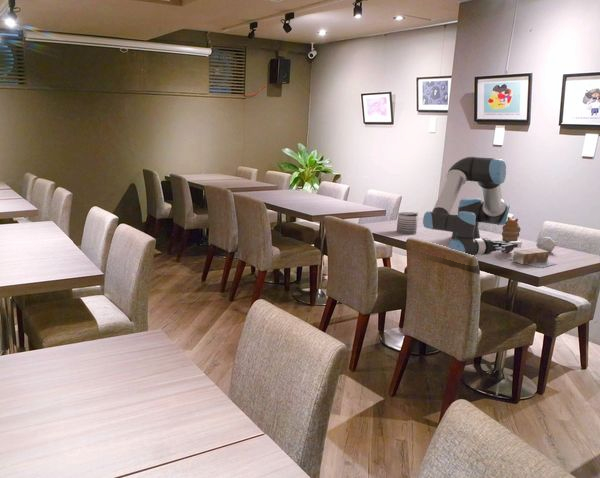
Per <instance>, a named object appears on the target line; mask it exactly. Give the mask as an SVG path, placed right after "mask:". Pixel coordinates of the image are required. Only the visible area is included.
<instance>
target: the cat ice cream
mask: <svg viewBox="0 0 600 478" xmlns="http://www.w3.org/2000/svg"><path fill="white" fill-rule="evenodd" d="M518 221H519V218H515V219H514V218H511V217H510V216H508V217H507V221H506V223H505V225H502V232H501V236H502V240H501V241H504V242H506V240H508V243H509V242H513V241H518V240H519V239H518V238H519V236H520V233H521V227H520V226H519V223H518ZM512 251H513V250H508V251H504V252H505V253H507V254H508V253H512Z"/></svg>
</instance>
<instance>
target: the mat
mask: <svg viewBox="0 0 600 478" xmlns="http://www.w3.org/2000/svg"><path fill="white" fill-rule="evenodd" d="M505 260H510V261H512V262H514V261H513V256H509V257H505ZM527 265H529V266H533V267H536V266H537V268H541V269H544V268H547V267H550V266H555V265H557V263H556V262H551V261H549V260H548V261H547V262H540V263H532V264H527ZM543 267H544V268H543Z"/></svg>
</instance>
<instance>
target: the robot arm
mask: <svg viewBox="0 0 600 478" xmlns="http://www.w3.org/2000/svg"><path fill="white" fill-rule="evenodd" d="M506 176H507V164H506V162H505V160H504V159H501V158H496V157H495V158H494V157H478V156H466V157H464V158H461V159H459V160H457V161H456V162H455V163H454V164H452V165H451V167H450V168H449V169H448V171H447V173H446V180H445V182H444V184H443V187H442V189H441V192H440V193H439V195H438V198H437V199H436V202H435V204H434V207H433V209H432V210H431V211H426V212H425V213H424V215H423V218H422V225H423V227H424V228H425V229H430V230H437V231H443V232H450V233H451V240H450V241H449V243H448V248H451V249H455V250H458V251H462V252H465V253H468V254H471V255H474V256H475V257H476V256H488V255H490V254H491V253H492V252H497V251H501V253H504V252H505V251H508V250H512V251H515V250H514V249H519V248H520V249H521V248H522V243H523V242H522V241H520V240H519V241H518V240H517V241H513V242H509V243H508V240H506V242H504V241H503V240H491V239H490V238H488V237H481V235H480V229H479V223H484V224H491V225H497V226H504V225H505V223H506V221H507V220H508V217H509V213H510V207H511V205H510V204H508V203H506V202H505V201H504V200H503V199H502V198H503V197H502V188H501V184H504V182H505V180H506ZM469 181H470V182H476V183H477V184H478V185H479V187H481V190H482V196H483V199H482V198H481V197H467V198H461V199H460V200H459V203H458V207H457V209H458V210H457V214H450V213H451V211H452V209H453V207H454V205H455V202H456V200H457V198H458V195H459V194H460V191H461V190H462V189H461V188H462V186H463V185H465V184H466V182H469ZM474 256H473V257H474Z"/></svg>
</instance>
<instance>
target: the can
mask: <svg viewBox="0 0 600 478" xmlns="http://www.w3.org/2000/svg"><path fill="white" fill-rule="evenodd" d="M418 214H419V213H418V212H413V211H404V212H398V213H397V222H396V223H397V224H396V233H398V234H401V235H405V236H407V235H408V236H411V235H413V236H414V235H416V234H417V228H418V221H419V220H418V218H419V215H418Z"/></svg>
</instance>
